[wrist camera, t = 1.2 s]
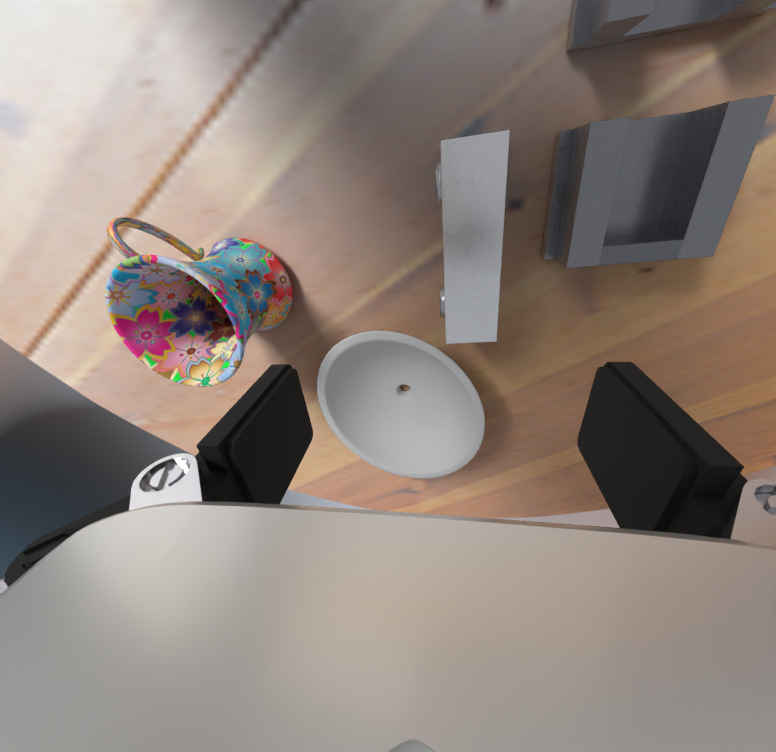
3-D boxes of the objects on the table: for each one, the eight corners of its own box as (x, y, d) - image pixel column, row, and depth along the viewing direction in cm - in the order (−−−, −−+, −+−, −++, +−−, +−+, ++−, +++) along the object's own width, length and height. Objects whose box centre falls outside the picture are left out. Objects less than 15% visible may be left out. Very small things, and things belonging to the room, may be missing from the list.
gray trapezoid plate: (435, 151, 23) (434, 141, 17) (491, 143, 22) (509, 129, 16) (440, 310, 29) (441, 344, 23) (484, 307, 28) (496, 341, 23)
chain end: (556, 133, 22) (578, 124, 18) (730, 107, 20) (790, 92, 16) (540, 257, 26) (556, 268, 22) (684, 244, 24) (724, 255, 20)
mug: (320, 303, 30) (269, 355, 21) (252, 344, 34) (184, 404, 25) (230, 176, 26) (117, 173, 17) (162, 238, 29) (39, 265, 20)
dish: (507, 416, 34) (517, 449, 30) (397, 461, 40) (393, 495, 36) (415, 277, 28) (411, 294, 24) (301, 355, 34) (281, 380, 29)
